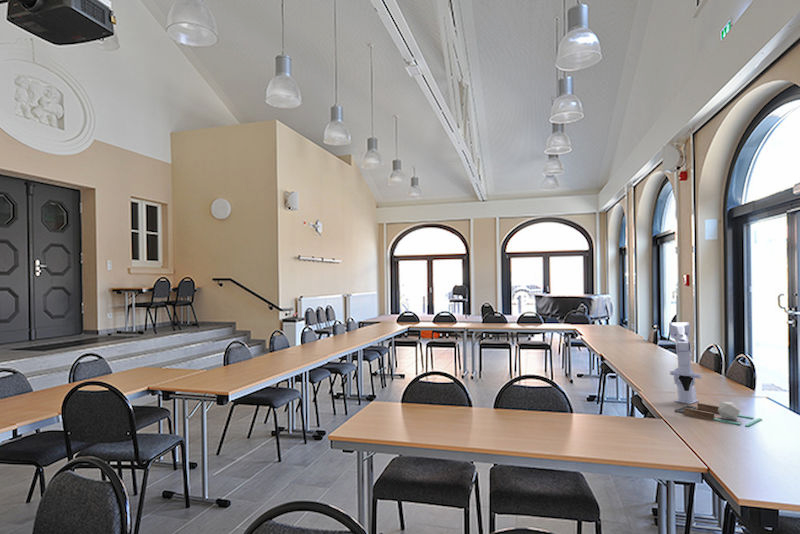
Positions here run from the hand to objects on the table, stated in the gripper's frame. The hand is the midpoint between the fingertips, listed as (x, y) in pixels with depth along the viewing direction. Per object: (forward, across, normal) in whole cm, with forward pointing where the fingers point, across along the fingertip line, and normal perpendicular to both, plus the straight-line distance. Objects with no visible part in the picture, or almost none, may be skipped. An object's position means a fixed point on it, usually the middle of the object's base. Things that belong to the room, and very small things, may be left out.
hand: (686, 390), depth 235 cm
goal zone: (+10, +22, 0) cm, 24 cm away
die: (+10, +19, 0) cm, 21 cm away
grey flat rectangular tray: (+10, -1, 0) cm, 10 cm away
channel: (+10, +8, 0) cm, 13 cm away
